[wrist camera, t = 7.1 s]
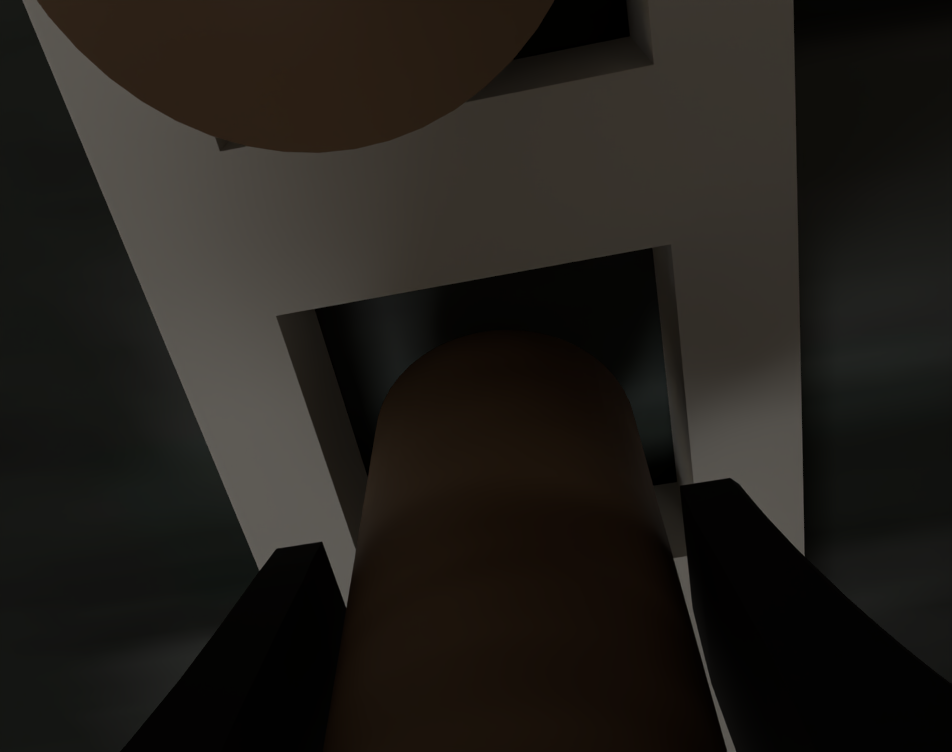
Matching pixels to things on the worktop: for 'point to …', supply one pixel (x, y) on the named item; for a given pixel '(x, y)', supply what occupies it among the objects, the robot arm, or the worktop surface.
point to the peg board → (479, 250)
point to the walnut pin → (514, 568)
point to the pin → (300, 62)
